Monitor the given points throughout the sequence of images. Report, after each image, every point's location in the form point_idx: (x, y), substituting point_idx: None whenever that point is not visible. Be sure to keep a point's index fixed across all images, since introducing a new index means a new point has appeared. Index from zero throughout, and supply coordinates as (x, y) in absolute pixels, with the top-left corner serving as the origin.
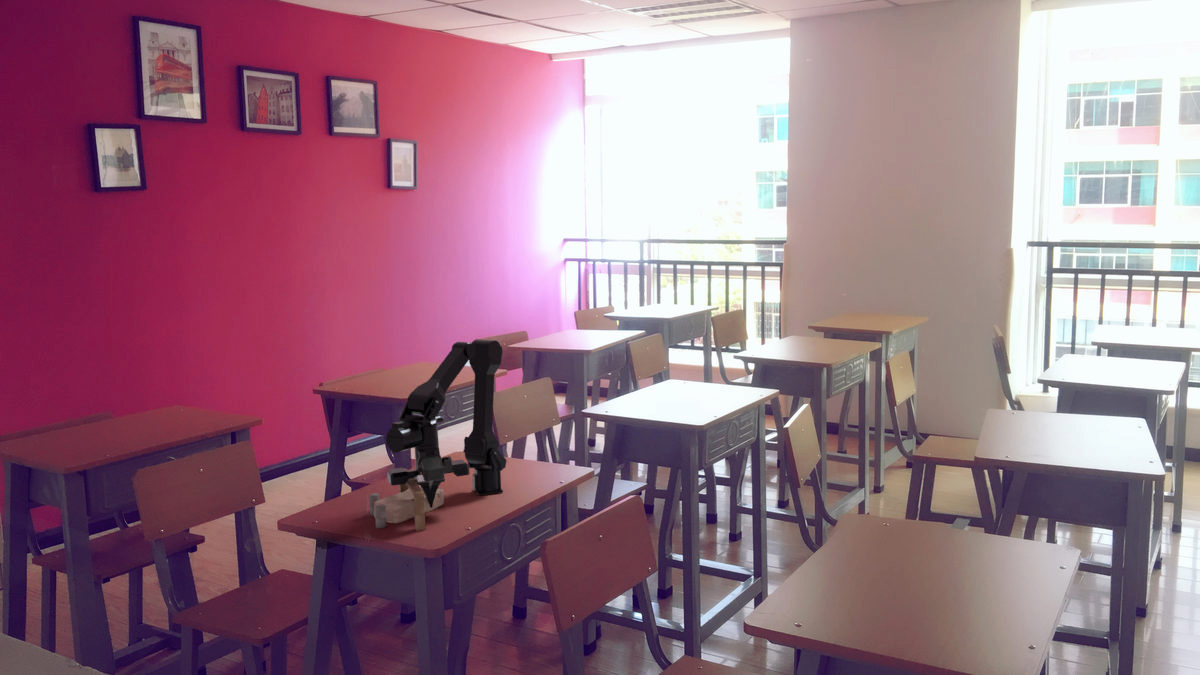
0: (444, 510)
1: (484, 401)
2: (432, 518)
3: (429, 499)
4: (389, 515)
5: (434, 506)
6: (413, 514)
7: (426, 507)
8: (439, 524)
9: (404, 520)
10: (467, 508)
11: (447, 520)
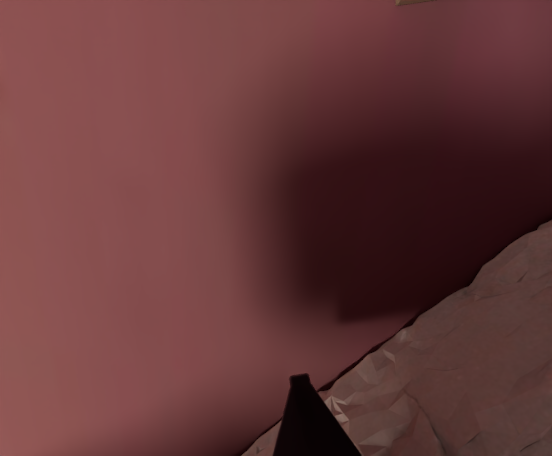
0: (199, 402)
1: None
2: (292, 254)
3: (334, 447)
4: None
5: (264, 450)
6: (438, 320)
7: None
8: (242, 60)
9: (506, 249)
10: (35, 406)
11: (170, 164)
